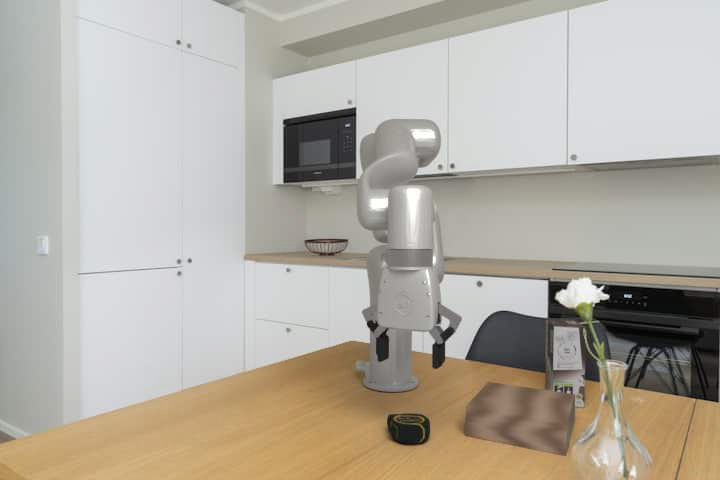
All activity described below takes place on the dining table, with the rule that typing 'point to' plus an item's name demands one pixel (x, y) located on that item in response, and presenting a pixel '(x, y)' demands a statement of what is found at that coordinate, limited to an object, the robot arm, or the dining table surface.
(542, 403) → the block
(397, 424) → the tape measure
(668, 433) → the dining table surface
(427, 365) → the dining table surface
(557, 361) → the coffee box
